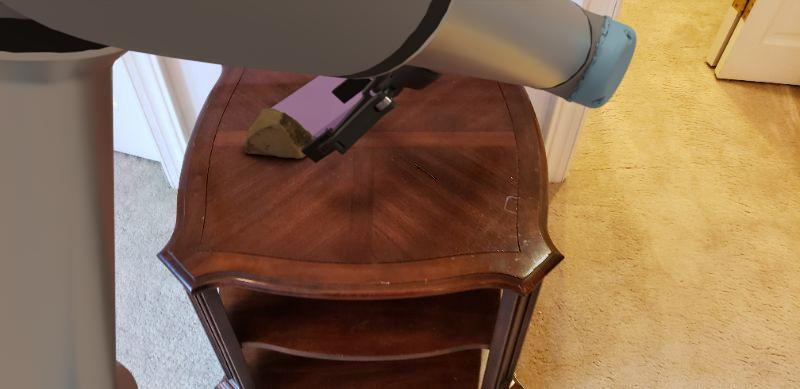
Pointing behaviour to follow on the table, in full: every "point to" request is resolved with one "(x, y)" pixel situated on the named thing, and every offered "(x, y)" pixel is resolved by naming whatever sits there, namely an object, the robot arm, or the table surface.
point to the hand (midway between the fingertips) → (324, 124)
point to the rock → (277, 135)
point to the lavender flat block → (317, 105)
